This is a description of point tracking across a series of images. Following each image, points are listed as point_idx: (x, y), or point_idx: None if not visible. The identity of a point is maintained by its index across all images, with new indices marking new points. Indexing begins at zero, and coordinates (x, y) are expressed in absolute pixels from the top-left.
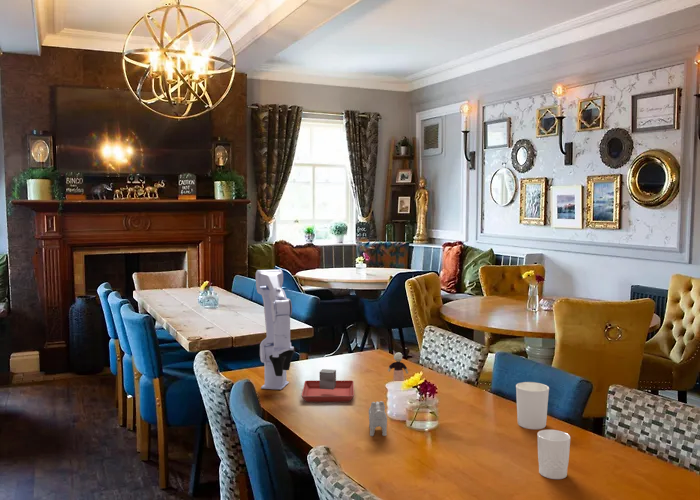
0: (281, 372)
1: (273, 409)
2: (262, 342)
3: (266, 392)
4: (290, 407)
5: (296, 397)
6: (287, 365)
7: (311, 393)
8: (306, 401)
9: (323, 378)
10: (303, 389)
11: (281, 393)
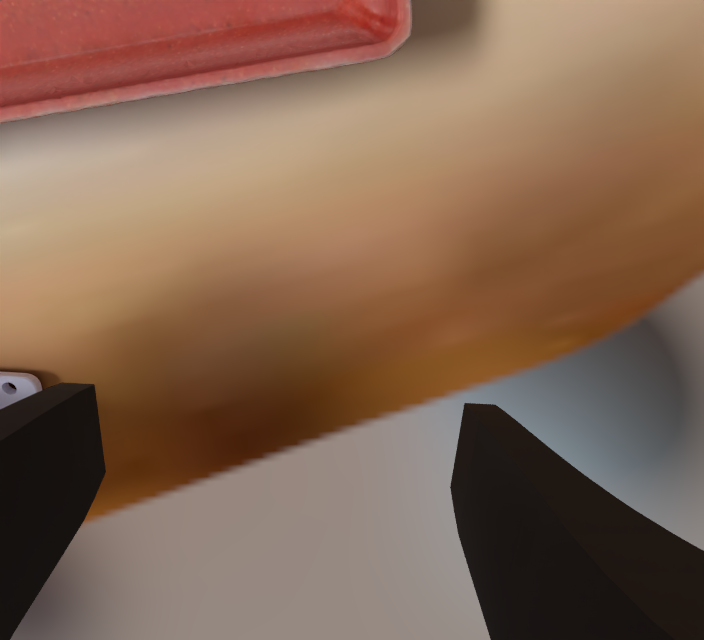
0: (533, 441)
1: (600, 294)
2: None
3: (145, 468)
4: (544, 149)
5: (218, 166)
6: (45, 455)
7: (61, 7)
8: (341, 10)
9: None
10: (146, 89)
11: (134, 344)
